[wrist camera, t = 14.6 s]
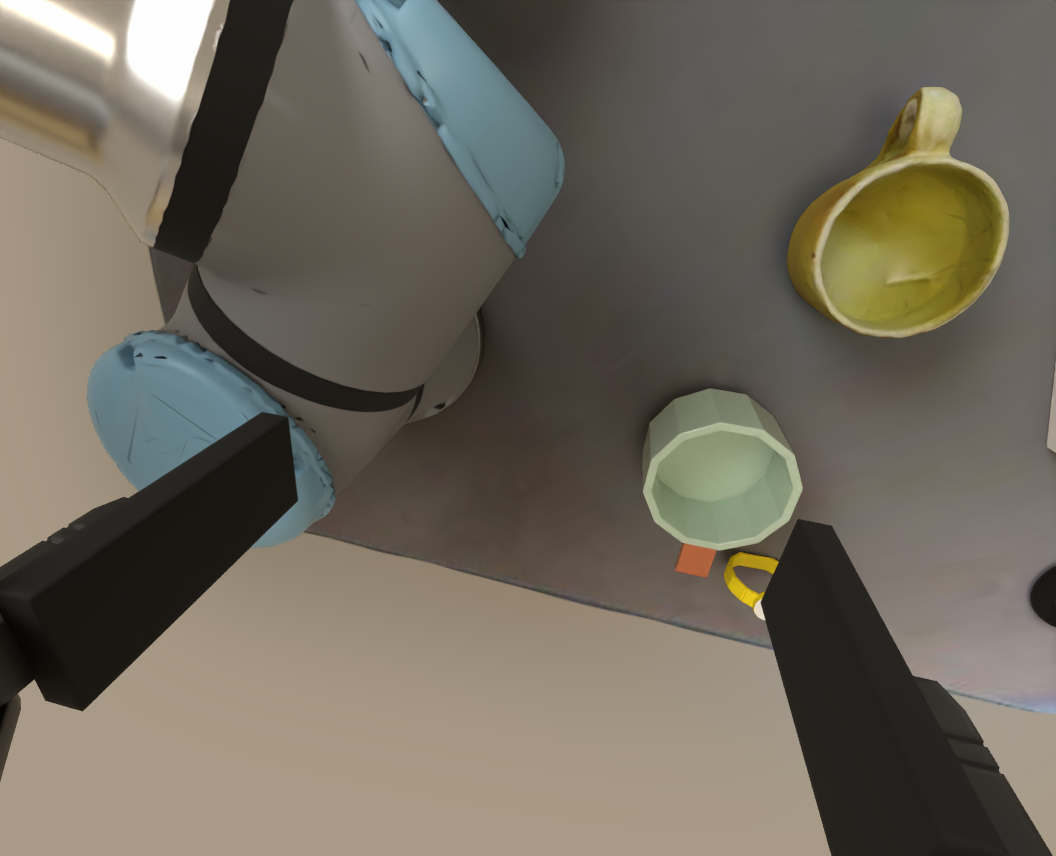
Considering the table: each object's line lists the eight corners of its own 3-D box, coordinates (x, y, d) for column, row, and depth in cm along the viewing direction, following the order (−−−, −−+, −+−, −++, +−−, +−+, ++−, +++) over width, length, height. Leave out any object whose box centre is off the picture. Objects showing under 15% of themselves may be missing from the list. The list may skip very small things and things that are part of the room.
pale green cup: (660, 379, 39) (663, 411, 34) (798, 403, 38) (824, 440, 33) (626, 515, 45) (624, 560, 40) (745, 539, 44) (759, 589, 39)
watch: (717, 563, 48) (726, 612, 42) (726, 540, 46) (737, 587, 41) (783, 578, 47) (801, 630, 42) (794, 555, 46) (815, 605, 40)
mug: (920, 353, 35) (967, 360, 26) (763, 312, 38) (757, 305, 29) (1018, 157, 31) (1111, 87, 22) (834, 132, 35) (851, 64, 26)
